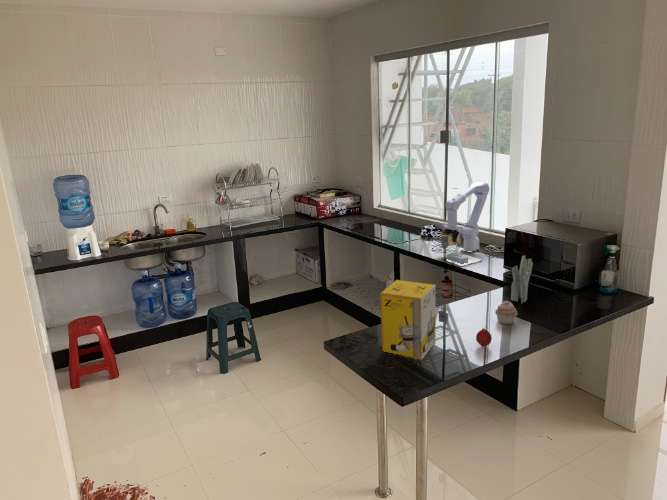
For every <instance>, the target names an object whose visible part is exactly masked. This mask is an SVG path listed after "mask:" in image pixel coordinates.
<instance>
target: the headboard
mask: <svg viewBox="0 0 667 500" xmlns="http://www.w3.org/2000/svg"><path fill="white" fill-rule="evenodd" d="M458 256H459V257H458ZM460 256H462V257H460ZM446 259H448V260H451V261H454V262H457V263H460V264H464V263H468V260H472V261H473V260H474V261H475V260H477V261H480V260H482V259H480V258H478V257H474V256H471V255H467V254H463V255H459V253H456V252H450V253H447V254H446Z"/></svg>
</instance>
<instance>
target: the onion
mask: <svg viewBox="0 0 667 500" xmlns="http://www.w3.org/2000/svg"><path fill="white" fill-rule="evenodd" d="M492 339H493V337H492V334H491V333H490V331H488V329H486V328H484V327H482V329H481V330H479V331H478V332H477V334H476V336H475V341H476V343H478V345H479V346H481V347H482V348H485V347H487V346H489V345H490V344H491V342H492Z"/></svg>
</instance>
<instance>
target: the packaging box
mask: <svg viewBox="0 0 667 500" xmlns="http://www.w3.org/2000/svg"><path fill="white" fill-rule="evenodd" d="M436 290H437V289H436V284H433V283H424V282H417V281H411V280H410V281H409V280H402V279H401V280H400V279H396V280H395V281H394V282H392V283H391V284H389V286H388V287H386V288H384V290H383V291H382V292H380V295H379V296H380V320H381V321H380V323H381V343H382V344H381V347H382V351H384V352H388V353H393V354H398V355H403V356H407V357H412V358H417V359H423V358H424V359H425V357H426V356H427V355H428V353H429V352H430V351H431V349H432V348H433V347H434V345H435V344H436V343H435V342H436V341H437V340H436V339H437V338H436V337H437V333H436V330H437V326H436V323H437V322H436V317H437V316H436V313H437V312H436V309H437V308H436V299H437V298H436V296H437V295H436ZM434 343H435V344H434ZM433 344H434V345H433ZM432 346H433V347H432ZM431 347H432V348H431ZM430 348H431V349H430ZM429 350H430V351H429ZM428 351H429V352H428ZM427 352H428V353H427ZM426 354H427V355H426ZM425 355H426V356H425ZM424 356H425V357H424ZM424 359H423V360H424Z"/></svg>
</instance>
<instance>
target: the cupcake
mask: <svg viewBox="0 0 667 500" xmlns="http://www.w3.org/2000/svg"><path fill="white" fill-rule="evenodd" d="M495 315H496V316H497V317H496V318H497V322H498V323H499V324H501V325H506V326H507V325H508V326H509V325H512V324H514V322H515V319H516V317H517V316H518V311H517V309H516V308H515V306H514V304H513V303H512V302H511V301H509V300H504V301H502V303H501V304H499V305H498V306H497V308H496V309H495Z"/></svg>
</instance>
